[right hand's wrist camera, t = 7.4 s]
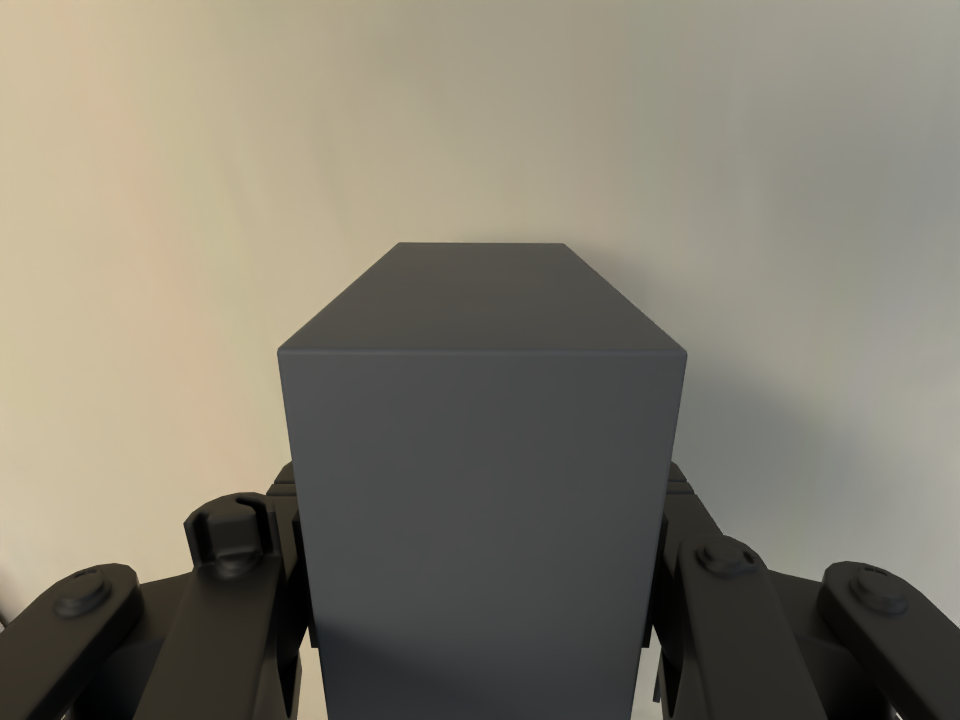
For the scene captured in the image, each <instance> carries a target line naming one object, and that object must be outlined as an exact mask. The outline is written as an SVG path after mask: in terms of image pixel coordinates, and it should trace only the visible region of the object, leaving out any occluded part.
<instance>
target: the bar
mask: <svg viewBox="0 0 960 720" xmlns="http://www.w3.org/2000/svg"><path fill="white" fill-rule="evenodd" d="M277 356H278V364H279V371H280V378H281V385H282V392H283V399H284V407H285V414H286V421H287V428H288V435H289V442H290V450H291V457H292V464H293V471H294V478H295V485H296V493H297V500H298V507H299V514H300V521H301V528H302V536H303V543H304V550H305V557H306V564H307V571H308V579H309V586H310V593H311V600H312V607H313V614H314V622H315V629H316V636H317V643H318V650H319V657H320V665H321V672H322V679H323V686H324V693H325V700H326V708H327V715H328V720H630V719H631V712H632V706H633V699H634V693H635V687H636V680H637V674H638V668H639V661H640V655H641V648H642V642H643V636H644V629H645V623H646V616H647V610H648V604H649V597H650V591H651V585H652V578H653V572H654V565H655V559H656V553H657V546H658V540H659V534H660V527H661V521H662V514H663V508H664V502H665V495H666V489H667V483H668V476H669V470H670V463H671V457H672V451H673V444H674V438H675V431H676V425H677V419H678V412H679V406H680V400H681V393H682V387H683V380H684V374H685V368H686V361H687V352H686V350H685V349H683V348H682V347H681V346H680V345H679V344H678V343H677V342H675V341H674V340H673V339H672V338H671V337H670V336H669V335H667V334H666V333H665V332H664V331H663V330H662V329H661V328H660V327H658V326H657V325H656V324H655V323H654V322H653V321H652V320H650V319H649V318H648V317H647V316H646V315H645V314H644V313H642V312H641V311H640V310H639V309H638V308H637V307H636V306H634V305H633V304H632V303H631V302H630V301H629V300H628V299H626V298H625V297H624V296H623V295H622V294H621V293H620V292H619V291H617V290H616V289H615V288H614V287H613V286H612V285H611V284H609V283H608V282H607V281H606V280H605V279H604V278H603V277H601V276H600V275H599V274H598V273H597V272H596V271H595V270H593V269H592V268H591V267H590V266H589V265H588V264H587V263H585V262H584V261H583V260H582V259H581V258H580V257H579V256H577V255H576V254H575V253H574V252H573V251H572V250H571V249H570V248H568V247H567V246H566V245H565V244H554V243H407V242H400V243H398V244H397V245H396V246H394V247H393V248H392V249H391V250H390V251H389V252H388V253H386V254H385V255H384V256H383V257H382V258H381V259H380V260H378V261H377V262H376V263H375V264H374V265H373V266H372V267H370V268H369V269H368V270H367V271H366V272H365V273H364V274H362V275H361V276H360V277H359V278H358V279H357V280H356V281H354V282H353V283H352V284H351V285H350V286H349V287H348V288H346V289H345V290H344V291H343V292H342V293H341V294H340V295H338V296H337V297H336V298H335V299H334V300H333V301H332V302H330V303H329V304H328V305H327V306H326V307H325V308H324V309H322V310H321V311H320V312H319V313H318V314H317V315H316V316H314V317H313V318H312V319H311V320H310V321H309V322H308V323H306V324H305V325H304V326H303V327H302V328H301V329H300V330H298V331H297V332H296V333H295V334H294V335H293V336H292V337H290V338H289V339H288V340H287V341H286V342H285V343H284V344H282V345H281V346H280V347H279V348H278V351H277Z"/></svg>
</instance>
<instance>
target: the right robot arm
mask: <svg viewBox="0 0 960 720" xmlns="http://www.w3.org/2000/svg"><path fill="white" fill-rule="evenodd" d="M686 480H687V479H686V478H685V476H684V475H683V473H682V472H681V470H680V469H679V467H678V466H677V465H676V464H675V463H673V462H672V461H671V463H670V470H669V476H668V483H667V489H666V495H665V502H664V508H663V514H662V521H661V527H660V534H659V540H658V546H657V553H656V559H655V565H654V572H653V578H652V585H651V591H650V597H649V604H648V610H647V616H646V623H645V629H644V636H643V642H642V648H649V644H650V638H651V632H652V625H653V626H654V628H655V631H656V633H657V636H658V639H659V641H660V644H661V653H660V659H659V665H658V671H657V677H656V683H655V689H654V696H653V702H657V703H660V697H661V703H662V712H663V720H900V719H899V718H898V716H897V715H896V713H898V714H899V715H900V717H901V718H902V719H903V720H960V629H959V628H958V627H957V626H956V625H955V624H954V623H953V622H952V621H951V620H950V619H948V618H947V617H946V616H945V615H944V614H943V613H942V612H941V611H940V610H939V609H938V608H937V607H936V606H935V605H934V604H933V603H932V602H931V601H929V600H928V599H927V598H926V597H925V596H924V595H923V594H922V593H921V592H920V591H918V590H917V589H916V588H914V587H913V586H912V585H910V584H909V583H908V582H907V581H905V580H904V579H902V578H900V577H898V576H896V575H894V574H892V573H890V572H888V571H886V570H884V569H881V568H878V567H875V566H872V565H869V564H865V563H859V562H851V561H844V562H838V563H833V564H832V565H830V566H829V567H828V568H827V569H826V570H825V573H824V576H823V579H822V582H817V581H813V580H808V579H804V578H799V577H795V576H791V575H786V574H782V573H779V572H775V571H772V570H769V569H767V567H766V565H765V564H764V562H763V561H762V559H761V558H760V556H759V555H758V554H757V553H756V552H755V551H753V550H752V549H751V548H750V547H748V546H747V545H746V544H744V543H742V542H740V541H738V540H736V539H734V538H732V537H729V536H725V535H723V534H722V532H721V531H720V529H719V528H718V526H717V525H716V523H715V522H714V520H713V519H712V517H711V516H710V514H709V513H708V511H707V510H706V508H705V507H704V505H703V504H702V502H701V501H700V499H699V498H698V496H697V495H695V493H694V490H693V489H692V487H691V486H690V484H689V482H687V481H686ZM183 524H184V528H185V532H186V536H187V540H188V544H189V548H190V552H191V556H192V560H193V564H194V568H193V570H192V572H189V573H186V574H182V575H179V576H175V577H170V578H166V579H162V580H157V581H153V582H148V583H144V584H139V581H138V578H137V574H136V572H135V571H134V570H133V569H132V568H131V567H129V566H128V565H122V564H117V563H112V564H103V565H96V566H93V567H90V568H87V569H83V570H81V571H78V572H75V573H73V574H72V575H70V576H68V577H66V578H64V579H62V580H60V581H58V582H56V583H55V584H54V585H52V586H51V587H50V588H49V589H47V590H46V591H45V592H43V593H42V594H41V595H40V596H39V597H37V598H36V599H35V600H34V601H33V602H32V603H31V604H30V605H29V606H28V607H27V608H26V609H25V610H24V611H23V612H22V613H21V614H20V615H19V616H18V617H17V618H15V619H14V620H13V621H12V622H11V623H10V624H9V625H8V626H7V627H6V628H5V629H4V630H3V631H2V632H1V633H0V720H61V718H62V717H63V716H64V714H65V717H64V719H63V720H297V714H298V704H299V694H300V685H301V675H302V666H301V659H300V653H299V648H300V645H301V642H302V640H303V637H304V634H305V632H306V629H307V626H308V629H309V636H310V642H311V648H318V643H317V636H316V629H315V622H314V614H313V607H312V600H311V593H310V586H309V579H308V571H307V564H306V557H305V550H304V543H303V536H302V528H301V521H300V514H299V507H298V500H297V493H296V485H295V478H294V471H293V464H292V461H291V462H290V463H288V464H287V465H285V466H284V467H283V469H282V470H281V472H280V473H279V475H278V476H277V478H276V479H275V481H274V484H272V485H271V487H270V488H269V490H268V491H267V493H266V495H263V494H259V493H255V492H245V493H235V494H230V495H226V496H222V497H219V498H217V499H214V500H212V501H210V502H207V503H205V504H204V505H202V506H201V507H199V508H198V509H197V510H195V511H194V512H192V513H191V514H190V516H189V517H188V518H187V520H186V521H185V522H184V523H183Z"/></svg>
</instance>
